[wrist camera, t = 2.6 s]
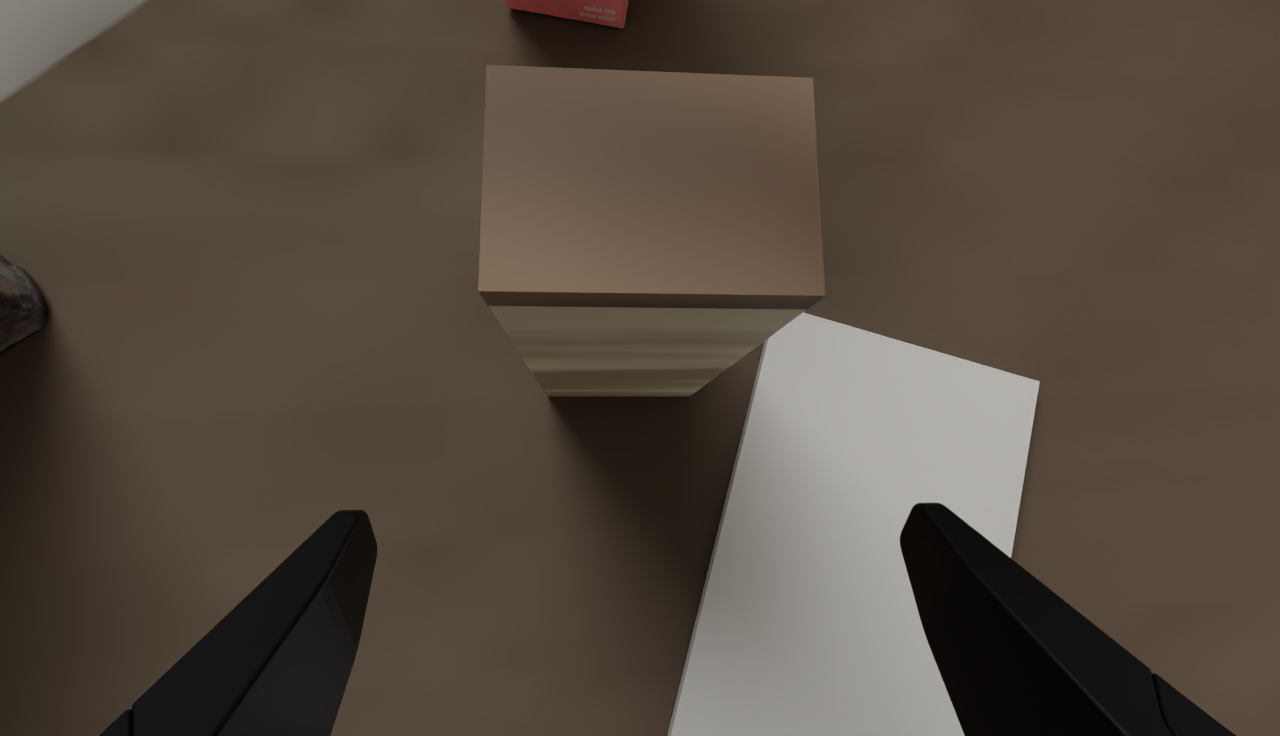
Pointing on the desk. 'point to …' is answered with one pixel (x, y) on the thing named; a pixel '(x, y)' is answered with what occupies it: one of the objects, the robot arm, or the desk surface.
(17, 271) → the stone block
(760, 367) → the grey board
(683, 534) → the desk surface
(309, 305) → the desk surface
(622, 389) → the birch block
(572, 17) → the ink cartridge box
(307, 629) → the robot arm
